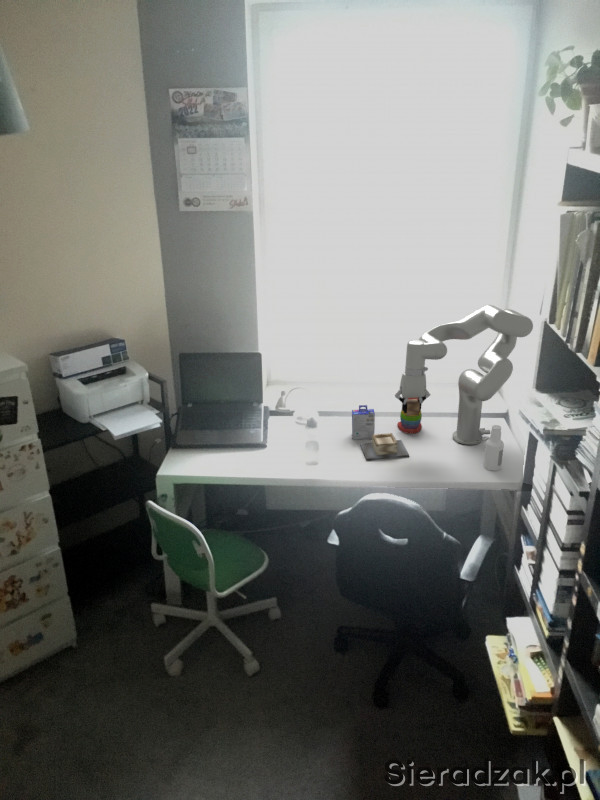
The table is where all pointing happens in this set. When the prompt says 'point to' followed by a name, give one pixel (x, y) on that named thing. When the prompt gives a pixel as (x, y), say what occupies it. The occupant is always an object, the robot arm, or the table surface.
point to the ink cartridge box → (363, 423)
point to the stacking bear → (410, 422)
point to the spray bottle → (494, 450)
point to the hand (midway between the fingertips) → (411, 411)
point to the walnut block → (412, 407)
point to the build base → (387, 456)
